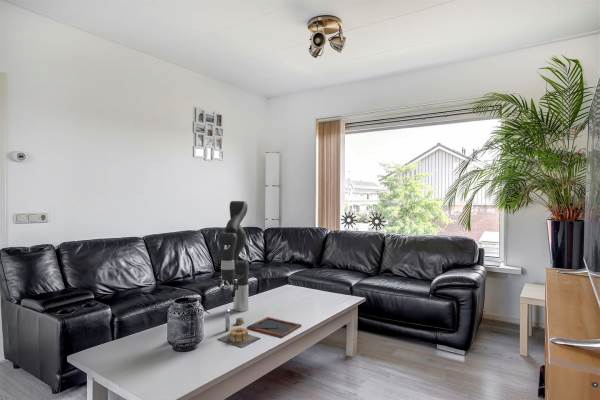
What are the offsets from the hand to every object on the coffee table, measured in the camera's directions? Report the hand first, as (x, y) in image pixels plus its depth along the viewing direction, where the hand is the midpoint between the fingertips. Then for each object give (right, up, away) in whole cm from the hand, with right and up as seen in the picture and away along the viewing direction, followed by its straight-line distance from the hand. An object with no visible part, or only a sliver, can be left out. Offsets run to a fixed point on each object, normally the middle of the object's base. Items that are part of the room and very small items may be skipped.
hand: (227, 296), depth 198 cm
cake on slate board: (+9, -20, -12) cm, 25 cm away
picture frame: (+26, -20, +5) cm, 34 cm away
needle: (0, -20, 0) cm, 20 cm away
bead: (+5, -20, +11) cm, 23 cm away
